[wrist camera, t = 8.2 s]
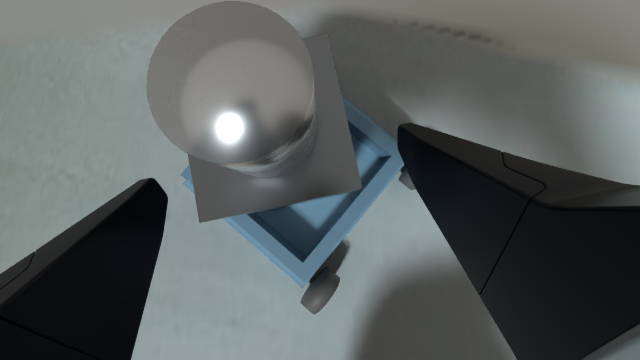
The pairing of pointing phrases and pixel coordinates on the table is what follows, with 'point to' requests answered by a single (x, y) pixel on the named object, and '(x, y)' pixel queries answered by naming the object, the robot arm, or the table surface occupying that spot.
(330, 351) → the table surface
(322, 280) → the chassis
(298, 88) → the square bottle with cap
